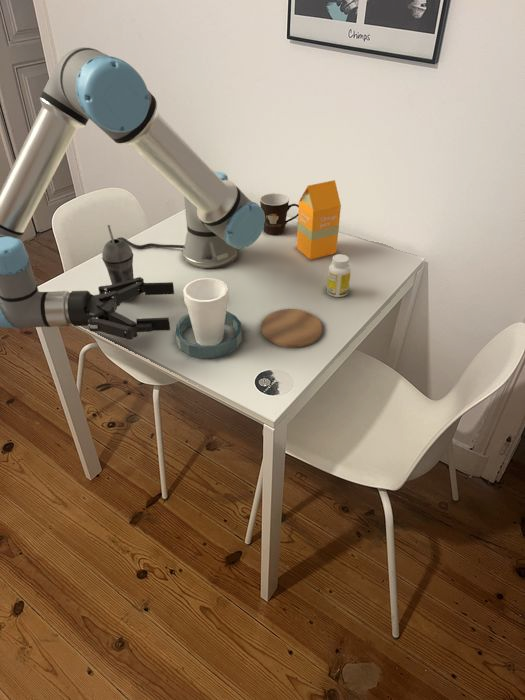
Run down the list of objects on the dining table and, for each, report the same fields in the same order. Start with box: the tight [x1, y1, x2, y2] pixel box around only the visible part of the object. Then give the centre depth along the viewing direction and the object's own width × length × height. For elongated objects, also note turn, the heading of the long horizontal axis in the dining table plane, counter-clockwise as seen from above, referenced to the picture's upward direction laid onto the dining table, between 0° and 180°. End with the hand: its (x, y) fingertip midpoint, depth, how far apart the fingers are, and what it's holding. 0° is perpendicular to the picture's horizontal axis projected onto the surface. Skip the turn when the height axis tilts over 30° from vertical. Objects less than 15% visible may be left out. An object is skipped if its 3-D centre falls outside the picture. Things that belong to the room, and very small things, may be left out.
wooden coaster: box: [261, 308, 323, 349], centre depth 123 cm, size 14×14×1 cm
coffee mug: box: [259, 192, 299, 236], centre depth 158 cm, size 12×9×10 cm
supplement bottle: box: [326, 253, 352, 298], centre depth 132 cm, size 5×5×10 cm
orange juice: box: [296, 179, 342, 261], centre depth 146 cm, size 8×9×20 cm
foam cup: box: [182, 277, 229, 346], centre depth 116 cm, size 10×9×13 cm
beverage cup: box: [101, 224, 135, 303], centre depth 127 cm, size 7×7×20 cm
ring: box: [175, 310, 243, 360], centre depth 119 cm, size 15×15×3 cm
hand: (171, 305), depth 114 cm, fingers open, 13 cm apart
